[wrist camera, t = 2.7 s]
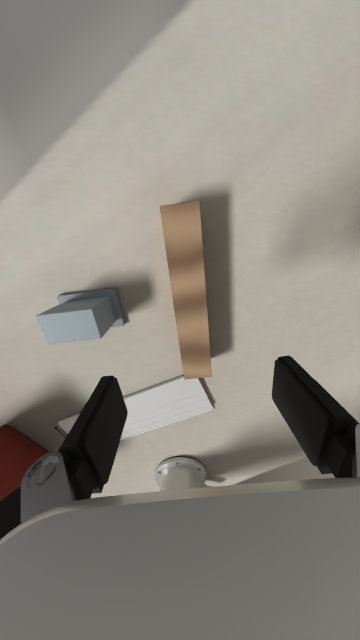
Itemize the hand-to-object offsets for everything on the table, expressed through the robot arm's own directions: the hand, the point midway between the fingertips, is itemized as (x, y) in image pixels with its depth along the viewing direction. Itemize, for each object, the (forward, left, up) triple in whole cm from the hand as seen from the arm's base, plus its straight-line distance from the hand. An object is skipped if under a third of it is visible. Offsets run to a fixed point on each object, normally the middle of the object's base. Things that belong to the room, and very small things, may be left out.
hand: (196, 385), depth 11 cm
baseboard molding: (-1, +27, -20) cm, 34 cm away
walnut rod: (0, 0, -20) cm, 20 cm away
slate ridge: (+13, +7, -19) cm, 24 cm away
